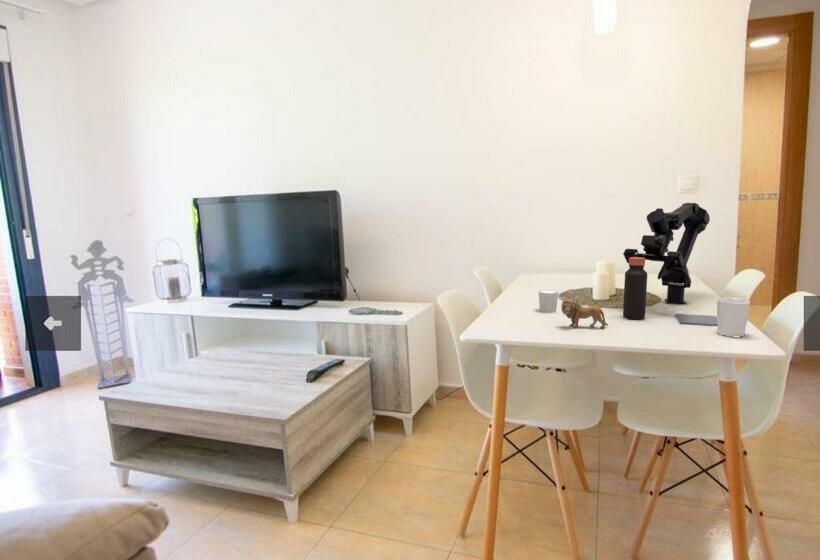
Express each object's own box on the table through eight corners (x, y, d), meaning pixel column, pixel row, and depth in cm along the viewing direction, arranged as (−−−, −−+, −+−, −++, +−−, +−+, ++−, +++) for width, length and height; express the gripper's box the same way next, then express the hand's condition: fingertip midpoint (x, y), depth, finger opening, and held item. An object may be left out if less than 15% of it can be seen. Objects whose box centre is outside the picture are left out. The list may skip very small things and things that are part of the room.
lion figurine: (563, 330, 155) (564, 301, 154) (558, 325, 160) (559, 297, 159) (611, 329, 155) (612, 300, 154) (604, 324, 161) (605, 296, 159)
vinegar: (621, 314, 173) (624, 256, 170) (643, 315, 171) (647, 257, 168) (623, 319, 167) (626, 259, 163) (646, 320, 165) (649, 259, 161)
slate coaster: (674, 315, 171) (674, 313, 171) (715, 317, 167) (715, 315, 167) (679, 323, 160) (679, 322, 160) (723, 326, 156) (723, 324, 155)
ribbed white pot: (538, 312, 179) (538, 293, 178) (537, 308, 185) (538, 289, 184) (558, 313, 177) (558, 293, 176) (557, 309, 184) (558, 290, 183)
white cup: (715, 336, 146) (718, 302, 144) (714, 329, 153) (716, 297, 151) (748, 339, 142) (751, 304, 140) (745, 332, 149) (748, 299, 147)
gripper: (627, 225, 178) (610, 259, 173) (683, 227, 165) (667, 264, 159) (635, 246, 185) (620, 279, 179) (690, 249, 171) (675, 285, 166)
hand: (644, 277), depth 171 cm, fingers open, 9 cm apart
